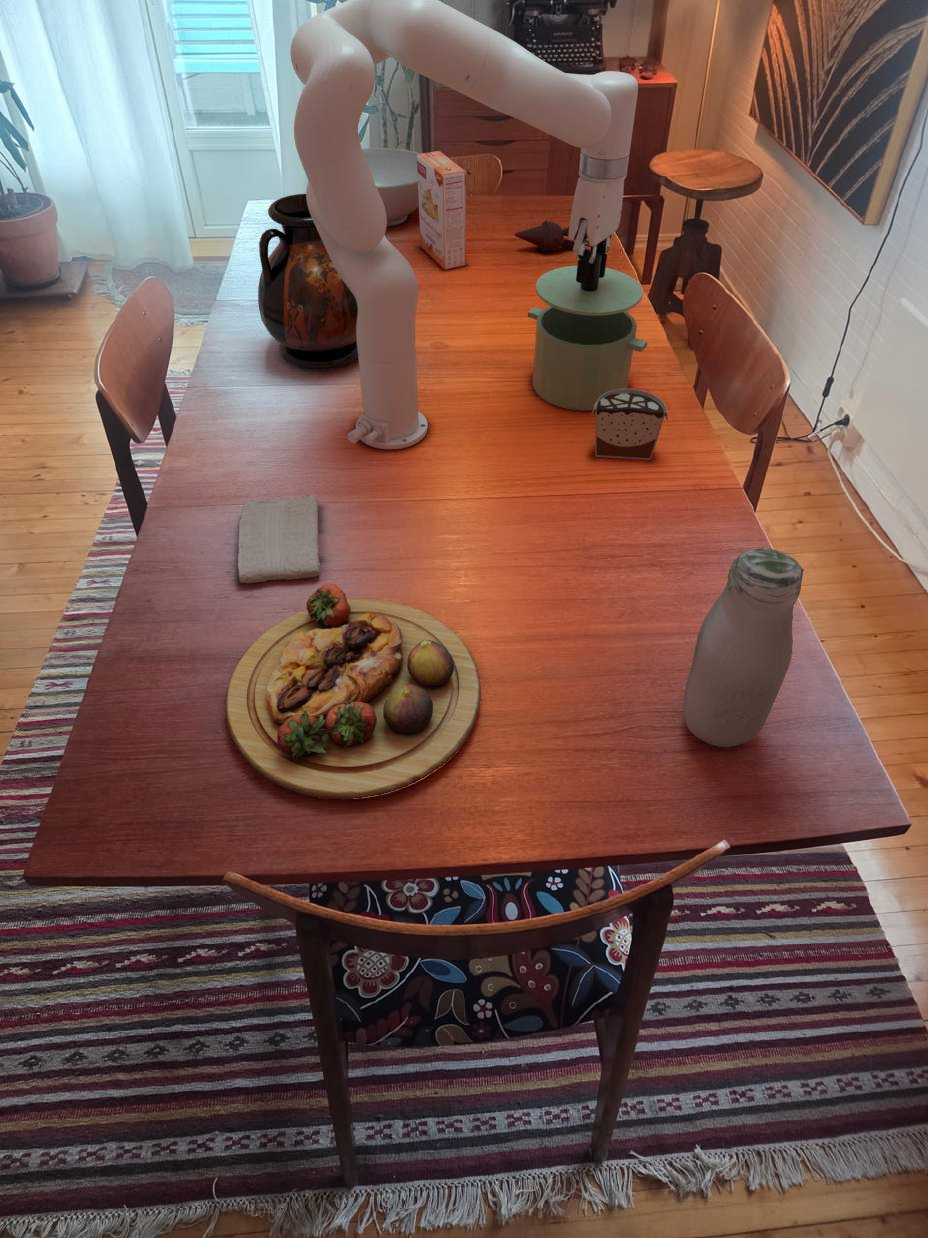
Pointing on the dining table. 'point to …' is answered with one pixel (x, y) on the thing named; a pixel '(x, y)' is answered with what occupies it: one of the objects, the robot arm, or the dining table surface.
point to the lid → (589, 291)
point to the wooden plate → (352, 697)
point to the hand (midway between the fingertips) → (590, 278)
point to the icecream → (547, 236)
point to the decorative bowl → (395, 180)
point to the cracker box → (442, 209)
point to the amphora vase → (305, 292)
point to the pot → (582, 355)
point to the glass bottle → (743, 649)
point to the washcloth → (279, 540)
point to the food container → (628, 424)
